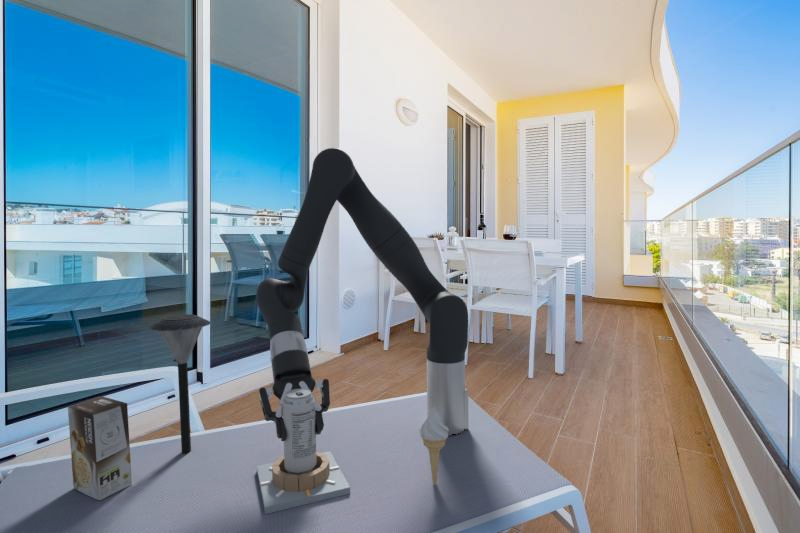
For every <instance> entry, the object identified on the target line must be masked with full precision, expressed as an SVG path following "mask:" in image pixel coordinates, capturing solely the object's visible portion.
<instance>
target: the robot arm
mask: <svg viewBox="0 0 800 533" xmlns="http://www.w3.org/2000/svg"><path fill="white" fill-rule="evenodd" d="M310 173H311V174H310V178H309V182H308V186H307V190H306V193H305V197H304V198H303V202H302V205H301V208H300V210H299V213H298V214H297V217H296V220H295V222H294V224H293V226H292V228H291V230H290V233H289V235H288V237H287V239H286V241H285V243H284V245H283V249H282V250H281V254H280V256H279V259H278V260H277V266H278V268H279V269H280V270H281V271H283V272H284V273H286V274H288V275H289V276H290V278H289V282H288V281H284V280H280V279H276V278H270V277H269V278H264V279H263V280H261V282H260V283H259V284H258V286H257V289H256V293H255V294H256V296H255V297H256V303H257V307H258V308H259V311H260V313H261V315H262V317H263V319H264V322H265V324H266V325H267V329H268V336H269V342H270V343H269V344H270V345H269V353H270V354H269V355H270V358H269V359H270V363H271V369H272V370H271V371H272V378H273V385H272V387H267V388H265V387H264V386H263V387H260V388H259V390H258V399H259V402H260V406H261V410H262V413H263V418H264V421H266V422H271V421H272V422H274V423H275V431H276V437H277V439H278V440H279V439H280V441H281V442H284V441H285V440H286V431H285V424H284V420H283V404H282V403H283V401H284V399H285V397H286V395H285V394H286V392H288V391H290V390H293V389H309V390H311V392H312V393H311V394H312V396H313V397H314V399H315V421H316V436H317V435H322V434H321V433H322V432H323V431H324V430H323V429H324V425H325V423H324V419H323V413H326V412H328V411H329V407H330V406H331V402H330V401H331V398H330V397H331V396H330V381H329V379H328V378H324V379H323V380H315V379H314V377H313V376H312V369H311V365H310V364H311V363H310V359H309V355H308V348H307V344H306V341H305V337H304V333H303V329H302V322H301V319H300V316H299V315H298V314H296V312H298V310H299V309H300V308H301V307H302V304H303V303H304V298H305V291H306V290H305V289H306V283H307V277H308V272H309V269H310V267H311V265H312V263H313V260H314V258H315V255H316V253H317V250H318V248H319V245H320V242H321V239H322V237H323V233H324V230H325V227H326V224H327V221H328V218H329V216H330V214H331V211H332V210H333V207H334V205H335V204H336V202H337V203H339V204H340V205H341V207H343V209H344V210H345V211H346V212H347V213H348V215H349V216H350V218H351V219H352V221H353V223H354V225H355V227H356V229H357V230H358V232H359V234H360V236H361V238H363V240H364V241H365V243H366V245H367V246H368V248H369V249H370V250H371V252H372V253H374V255H375V256H376V257H377V259H378V260H379V261H380V262H381V264H382V265H383V266H384V267H385V268H386V269H387V270H388V272H390V274H391V275H392V276H393V277H394V278H395V279H396V280H397V281H398V282H399V283H400V284H401V285H403V287H404V288H405V289H406V290H407V291H408V293H409V294H410V296H411V298H412V299H413V300H414V302H415V303H416V304H417V306H418V308H419V309H420V311H421V313H422V315H423V316H424V318H425V319H426V321H427V322H428V323H429V343H428V345H427V348H426V419H427V418H428V416H429V415H430V414H431V412H432V410H433V408H434V407H435V409H436V411H437V413H438V415H439V417H440V418H441V419H442V420H443V422H444V423H445V424H444V425H445V426H446V427H448V429H449V432H447V433H448V436H453V435H452V434H456V435H459V434H461V433H463V432H464V431H465V430H468V429H469V390H468V388H466V351H467V348H468V342H469V309H468V307H467V304H466V303H465V301H464V299H462V298H461V297H460V296H458V295H456V294H454V293H451V292H450V291H449V290H448V289H446V288H445V287H444V285H443V284H441V282H440V281H439V280H438V279H437V278H436V276H434V275H433V273H432V272H431V271H430V269H429V267H428V264H427V263H426V262H425V259H424V257H423V255H422V253H421V250H420V249H419V246H418V245H417V243H416V242H415V241H414V239H413V238H412V236H411V235H410V234H409V232H408V231H407V230H406V229H405V227H404V226H403V224H401V222H400V221H399V220H398V219H397V217H396V216H394V214H392V212H391V211H390V210H389V209H388V208H387V207H385V205H384V204H382V202H381V201H379V199H378V198H377V197H376V196H375V195H374V194H373V193H372V192H371V190H370V189H369V187H368V186H367V184H366V183H365V182H364V180H363V179H362V176H361V175H360V173H359V172H358V170H357V168H356V167H355V165H354V162H353V160H352V158H351V156H350V155H349V154H348V153H347V152H345V151H344V150H343V149H340V148H338V147H330V148H329V147H328V148H324V149H322V150H321V151H320V152H319V153H318V154H316V156H315V158H314V160H313V162H312V170H311V172H310ZM315 388H316V389H317V391H318V393H321V404H320V403H319V402H318V401H317V398H316V396H315V395H314V393H313V391H314V390H315ZM272 394H273V395H274V396H275V397H276V398H277V399H278V400H280V401H279V404H278V407H277V410H276V411H273V410H272V408H271V403H270V399H271V398H272ZM467 428H468V429H467ZM464 429H465V430H464ZM462 431H463V432H462ZM460 432H461V433H460ZM458 433H459V434H458Z"/></svg>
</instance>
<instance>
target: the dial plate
mask: <svg viewBox="0 0 800 533" xmlns="http://www.w3.org/2000/svg"><path fill="white" fill-rule="evenodd" d="M334 457H335V456H334V455H333V454H332V452H331V451H324V452H320V451H317V450H316V458H317V463H316V466H315V467H314V469H313V471H312V472H310V473H305V474H301V475H293V474H289V473H288V471H287V470H286V469H285V465H284V455H282V456H280V457H279V458H277V459H276V460H274V462H271V463H265V464H260V465H256V475H257V479H258V484H259V489H260V493H261V499H262V503H263V510H264V514H265V515H267V514H271V513H275V512H280V511H283V510H287V509H288V510H289V509H292V508H297V507H301V506H304V505H308V504H313V503H316V502H320V501H321V502H322V501H325V500H330V499H334V498H336V497H337V498H338V497H340V496H341V497H342V496H345V495H350V494H351V486H350V484H349V483H348V480H347V479H346V477H345V475H344V474H343V472H342V470H341V468H340V466H339V465H338V462H337V461H336V459H335V458H334Z"/></svg>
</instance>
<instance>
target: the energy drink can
mask: <svg viewBox="0 0 800 533" xmlns="http://www.w3.org/2000/svg"><path fill="white" fill-rule="evenodd" d="M311 393H312V394H313V391H312V392H311V390H309V389H293V390H290V391H288V392H286V394H285V395H286V397H285V399H284V401H283V403H282V404H283V416H282V418H283V420H284V424H285V431H286V440H285V441H283V456H284V465H285V469H286V470H287V471H288V473H289V474H293V475H301V474H305V473H310V472H312V471H313V469H314V467H315V466H316V463H317V458H316V451H317V435H316V421H315V399H314V397H313V396H312V394H311Z"/></svg>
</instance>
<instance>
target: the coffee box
mask: <svg viewBox="0 0 800 533" xmlns="http://www.w3.org/2000/svg"><path fill="white" fill-rule="evenodd" d="M128 413H129V412H128V402H124V401H120V400H116V399H114V398H113V399H112V398H111V397H110V398H109V397H105V396H102V395H101V396H97V397H93V398H90V399H86V400H84V401H80V402H78V403H76V404H72V405H68V406H67V414H68V428H69V441H70V442H69V443H70V455H71V456H70V457H71V469H72V484H73V489H74V490H75V489H76V490H75V491H77V490H78V491H77V492H80V493H82V494H84V495H86V496H88V497H89V498H90V497H91V498H92V499H95V500H97V501H102V500H104V499H105V498H108V497H109V496H112V495H114V494H116V493H118V492H119V491H122V490H123V489H126V488H128V487H130V486H132V484H133V482H132V481H133V480H132V466H131V465H132V464H131V463H132V462H131V449H130V448H131V447H130V446H131V444H130V429H129V426H130V425H129V414H128Z"/></svg>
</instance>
